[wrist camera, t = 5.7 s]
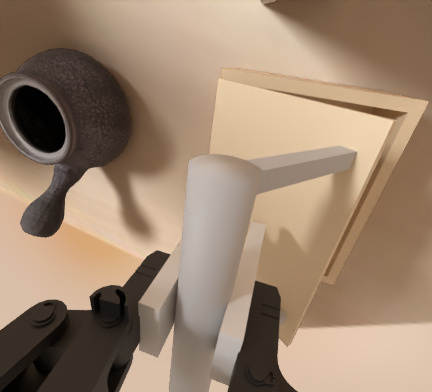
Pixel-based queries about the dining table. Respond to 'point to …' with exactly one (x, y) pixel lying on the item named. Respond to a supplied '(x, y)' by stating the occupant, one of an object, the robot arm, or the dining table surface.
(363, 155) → the flap
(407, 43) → the dining table surface
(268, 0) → the coffee box
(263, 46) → the dining table surface
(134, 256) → the dining table surface
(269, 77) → the carton
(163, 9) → the dining table surface
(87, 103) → the teapot
